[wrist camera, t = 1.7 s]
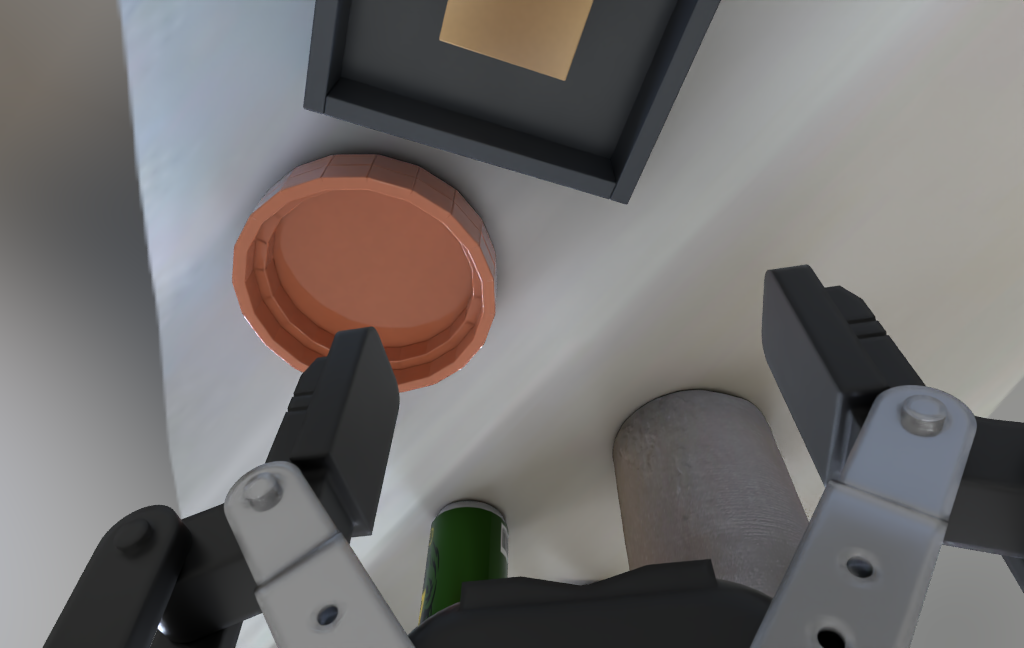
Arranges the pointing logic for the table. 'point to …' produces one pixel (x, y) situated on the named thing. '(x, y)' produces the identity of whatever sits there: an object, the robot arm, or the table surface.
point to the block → (519, 31)
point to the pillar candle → (707, 489)
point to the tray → (511, 87)
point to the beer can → (462, 553)
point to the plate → (368, 266)
